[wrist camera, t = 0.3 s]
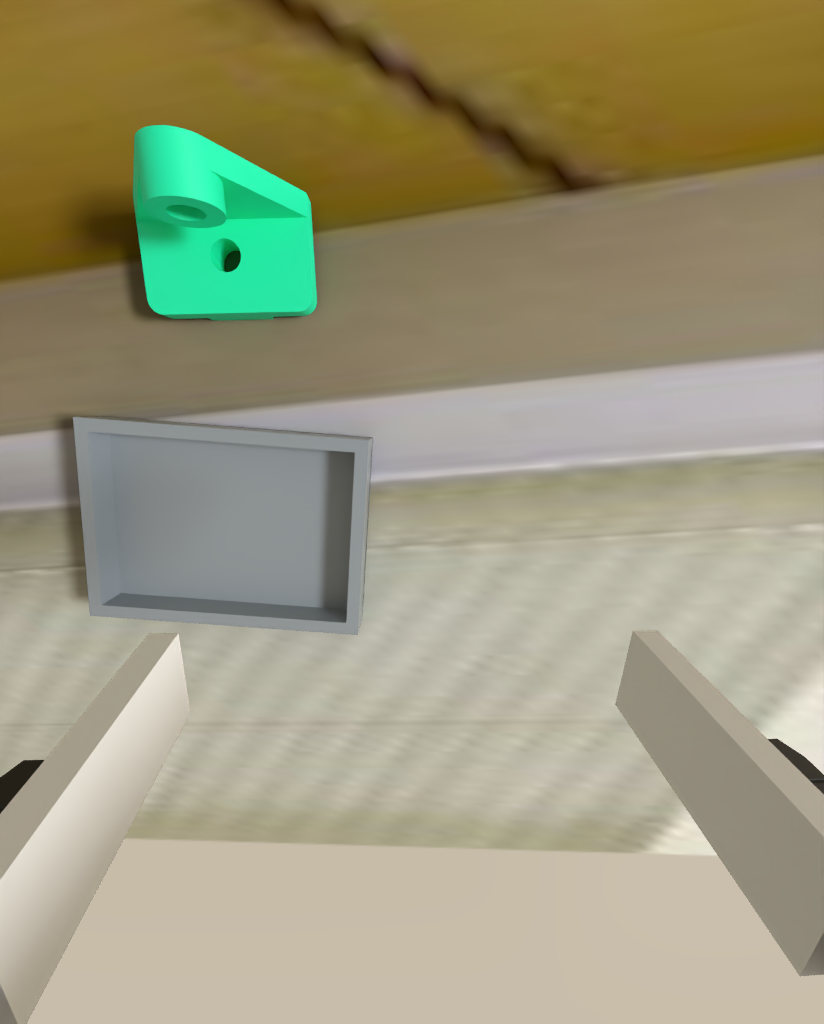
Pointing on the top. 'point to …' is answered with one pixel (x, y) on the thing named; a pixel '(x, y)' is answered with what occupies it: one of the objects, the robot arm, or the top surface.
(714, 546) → the top surface
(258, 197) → the camera mount
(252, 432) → the tray
